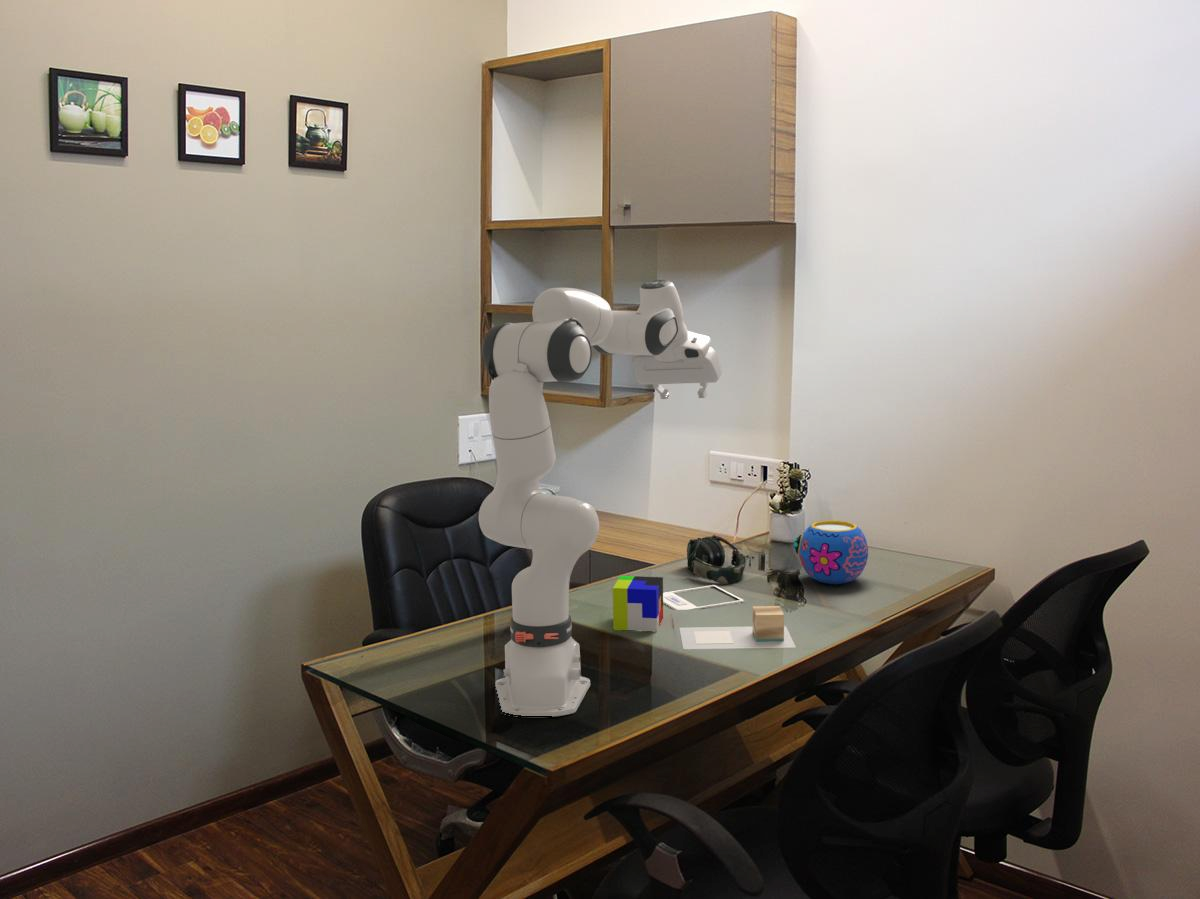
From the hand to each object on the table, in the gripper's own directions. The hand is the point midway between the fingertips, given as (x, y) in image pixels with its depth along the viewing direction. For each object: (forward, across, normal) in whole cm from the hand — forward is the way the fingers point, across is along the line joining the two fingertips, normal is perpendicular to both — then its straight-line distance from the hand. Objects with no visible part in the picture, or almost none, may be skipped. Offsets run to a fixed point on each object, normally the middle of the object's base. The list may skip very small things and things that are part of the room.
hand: (683, 397), depth 256 cm
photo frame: (+50, -3, -15) cm, 52 cm away
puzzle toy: (+40, -9, -35) cm, 54 cm away
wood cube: (+40, +22, -35) cm, 58 cm away
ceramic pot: (+63, +24, +9) cm, 68 cm away
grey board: (+40, +16, -38) cm, 57 cm away
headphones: (+59, -6, +5) cm, 60 cm away
